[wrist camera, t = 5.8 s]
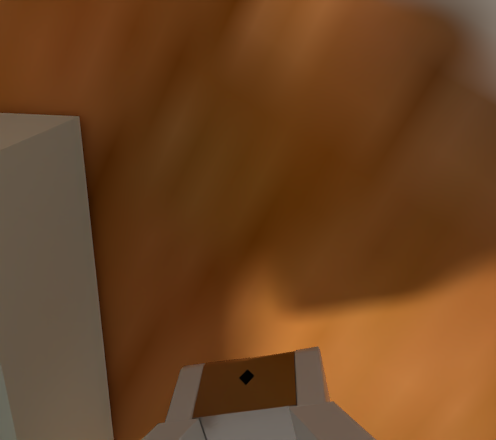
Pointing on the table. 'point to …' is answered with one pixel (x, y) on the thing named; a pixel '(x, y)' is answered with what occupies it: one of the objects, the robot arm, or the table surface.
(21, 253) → the sliding block
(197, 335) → the table surface
